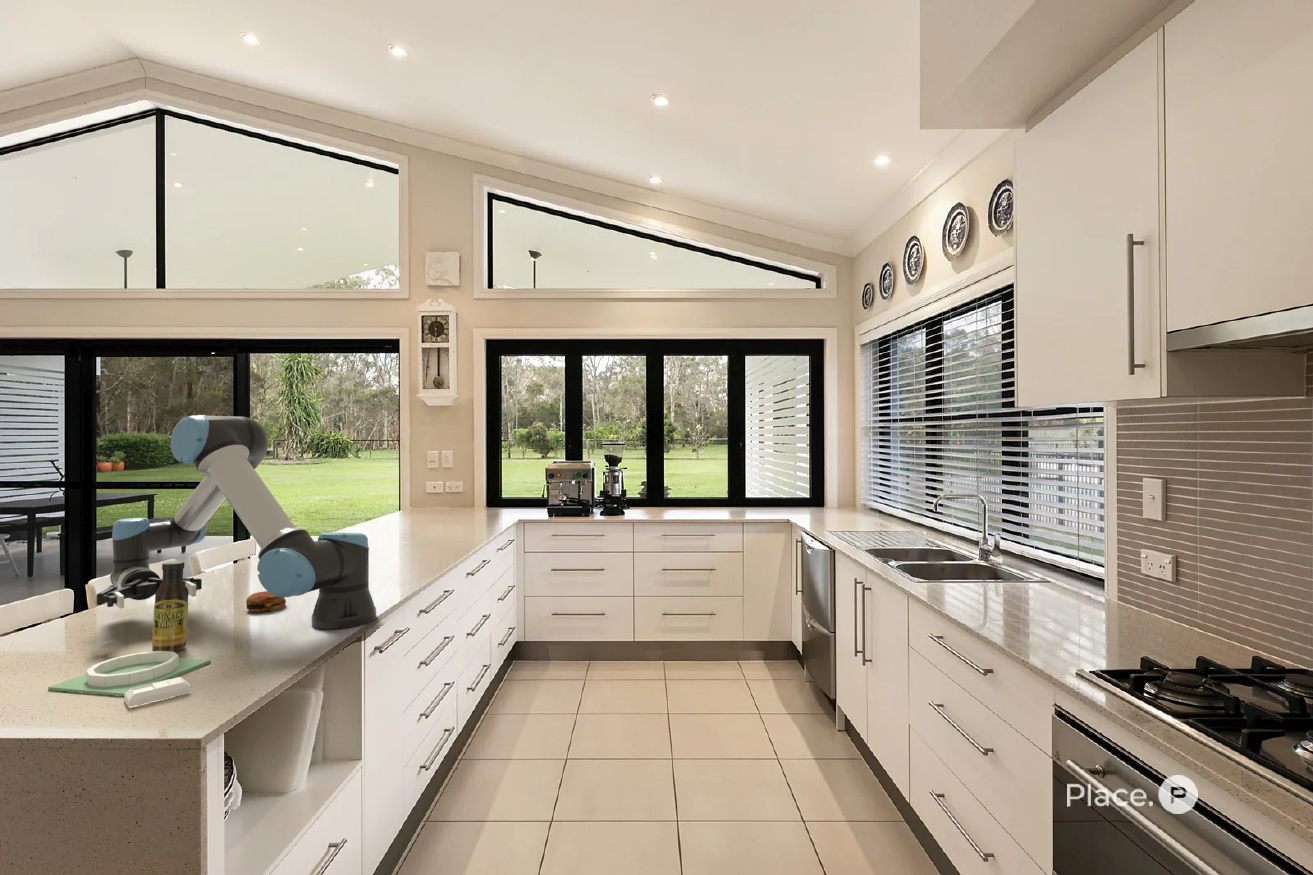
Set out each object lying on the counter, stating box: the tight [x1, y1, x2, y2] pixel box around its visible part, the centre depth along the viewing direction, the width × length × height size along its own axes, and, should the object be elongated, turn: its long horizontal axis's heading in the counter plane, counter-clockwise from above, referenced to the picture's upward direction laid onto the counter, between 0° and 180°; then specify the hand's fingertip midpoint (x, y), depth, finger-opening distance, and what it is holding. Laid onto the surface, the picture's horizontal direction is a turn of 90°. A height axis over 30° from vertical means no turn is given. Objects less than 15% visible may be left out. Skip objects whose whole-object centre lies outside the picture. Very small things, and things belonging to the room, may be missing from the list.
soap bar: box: [123, 676, 192, 707], centre depth 118 cm, size 5×9×3 cm, turn 137°
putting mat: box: [47, 651, 212, 697], centre depth 129 cm, size 18×18×3 cm
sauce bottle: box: [151, 560, 189, 653], centre depth 144 cm, size 6×6×20 cm
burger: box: [245, 590, 287, 613], centre depth 178 cm, size 10×9×5 cm
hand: (159, 596), depth 149 cm, fingers open, 13 cm apart
